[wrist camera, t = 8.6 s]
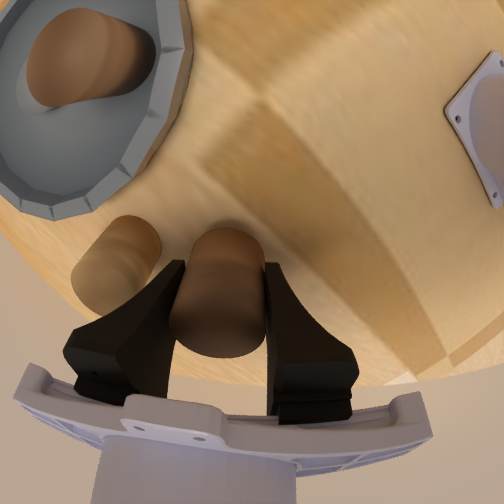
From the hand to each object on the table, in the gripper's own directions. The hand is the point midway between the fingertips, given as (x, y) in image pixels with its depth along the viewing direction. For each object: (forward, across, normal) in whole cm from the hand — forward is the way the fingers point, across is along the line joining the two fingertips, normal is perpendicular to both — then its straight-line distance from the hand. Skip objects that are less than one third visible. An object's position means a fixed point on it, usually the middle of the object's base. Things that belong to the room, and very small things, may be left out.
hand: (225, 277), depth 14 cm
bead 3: (+2, 0, 0) cm, 2 cm away
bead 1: (+3, +6, -11) cm, 13 cm away
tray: (+3, +10, -11) cm, 16 cm away
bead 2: (+3, +6, 0) cm, 7 cm away
